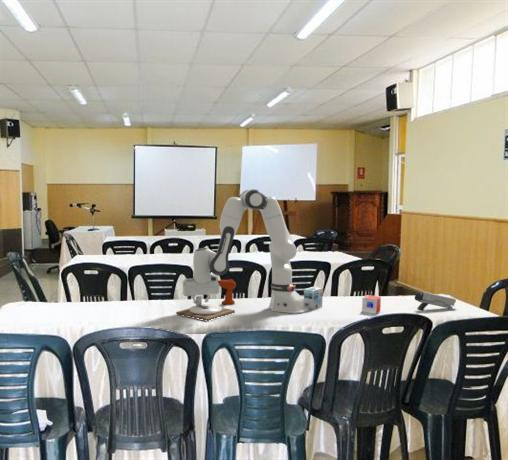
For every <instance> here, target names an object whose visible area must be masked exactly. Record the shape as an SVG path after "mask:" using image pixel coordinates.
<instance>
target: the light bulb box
mask: <svg viewBox="0 0 508 460" xmlns="http://www.w3.org/2000/svg"><path fill="white" fill-rule="evenodd" d="M323 291H324V290H323V288H322V287H316V286H311V287H307V288H304V289H303V299H304V304H305V307H308V308H309V310H316V309H318V308H322V307H323Z"/></svg>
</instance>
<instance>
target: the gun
mask: <svg viewBox="0 0 508 460" xmlns="http://www.w3.org/2000/svg"><path fill="white" fill-rule="evenodd" d="M414 301H417V302H419V303H420V304H419V306H417V310H420V311H424V310H425V308H426V307H427V306H429V305H431V306H436V307H437V306H438V307H440V308H441V307H442V308H446V309H450V310H451V309H453V307H455V303H456V301H457V300H456V298H453V297H448V296H444V295H439V294H434V293H430V292H426V291H421V292H418V291H417V292H416V293H415V295H414Z"/></svg>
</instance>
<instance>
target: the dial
mask: <svg viewBox="0 0 508 460" xmlns="http://www.w3.org/2000/svg"><path fill="white" fill-rule="evenodd" d="M195 300H197V303H196V304H195V305H194V306H190V307H189V308H190V312H191V313H194V314H201V315H208V314H216V313H219V312H221V311H222V308H223V307H221V306H220V305H216V304H205V305H203V304H202V301H203V297H202V295H195Z"/></svg>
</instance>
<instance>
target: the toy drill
mask: <svg viewBox="0 0 508 460" xmlns="http://www.w3.org/2000/svg"><path fill="white" fill-rule="evenodd" d="M218 283H219V288H220V287H221V288H223V289H224V291H223V292H222V295H223V296H224V300H223V301H221V305H223V306H231V305H232V306H233V305H235V303H236V302H235V300H234V299H233V291H234V289H235V288H236V287H237V283H236V282H235V281H234V279H231V278H230V279H220V280H219V279H218Z"/></svg>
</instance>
